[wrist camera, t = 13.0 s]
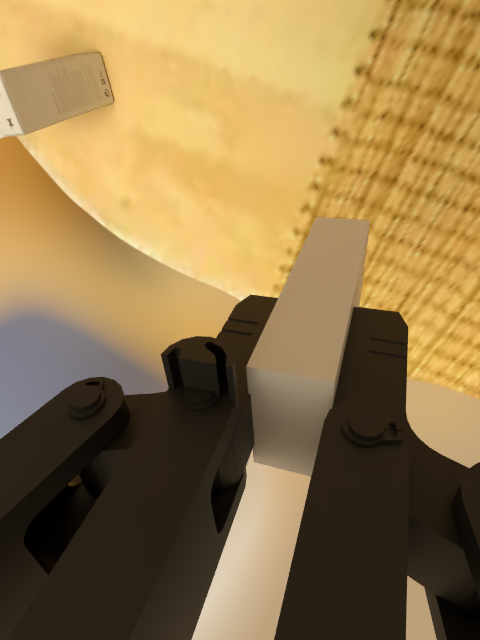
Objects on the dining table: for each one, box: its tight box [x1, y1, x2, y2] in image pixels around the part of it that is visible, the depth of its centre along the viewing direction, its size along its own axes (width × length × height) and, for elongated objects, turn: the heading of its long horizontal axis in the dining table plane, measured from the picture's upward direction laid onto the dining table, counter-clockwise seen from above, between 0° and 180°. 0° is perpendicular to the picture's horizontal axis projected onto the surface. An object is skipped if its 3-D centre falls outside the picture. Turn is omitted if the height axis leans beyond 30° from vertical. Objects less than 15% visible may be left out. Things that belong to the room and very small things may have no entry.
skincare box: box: [0, 53, 113, 138], centre depth 35 cm, size 6×4×12 cm
